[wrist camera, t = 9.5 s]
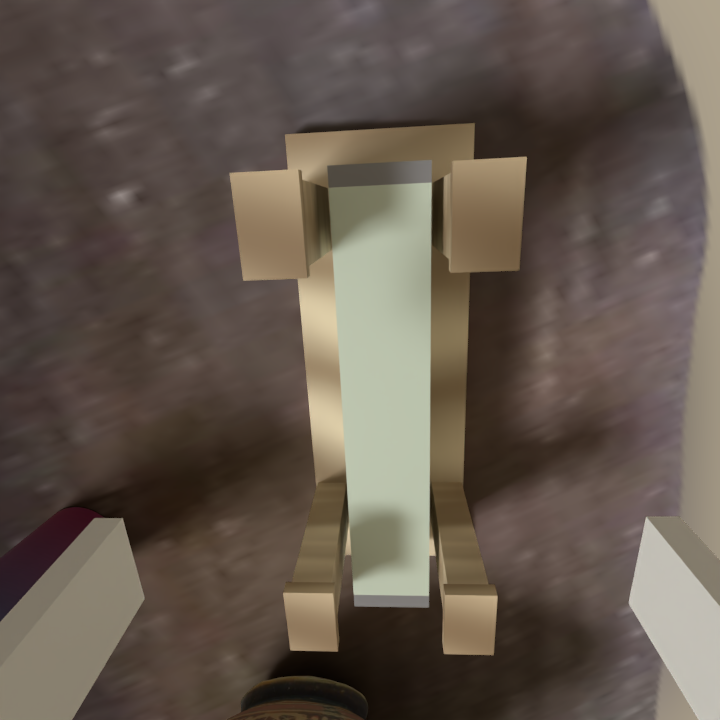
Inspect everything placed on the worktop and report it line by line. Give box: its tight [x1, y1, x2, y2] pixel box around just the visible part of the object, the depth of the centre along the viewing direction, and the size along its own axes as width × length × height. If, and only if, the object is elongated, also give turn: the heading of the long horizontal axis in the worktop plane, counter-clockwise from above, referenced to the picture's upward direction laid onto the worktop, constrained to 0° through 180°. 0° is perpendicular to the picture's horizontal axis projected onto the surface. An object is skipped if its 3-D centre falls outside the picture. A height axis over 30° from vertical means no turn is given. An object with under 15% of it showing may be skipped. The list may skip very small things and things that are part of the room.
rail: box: [327, 160, 432, 608], centre depth 23 cm, size 22×4×5 cm, turn 3°
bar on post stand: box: [230, 123, 527, 655], centre depth 22 cm, size 25×9×10 cm, turn 3°
